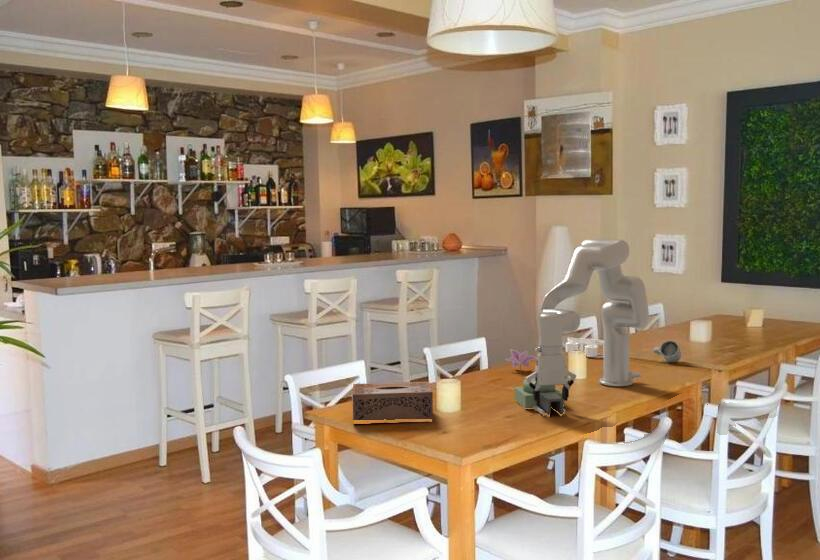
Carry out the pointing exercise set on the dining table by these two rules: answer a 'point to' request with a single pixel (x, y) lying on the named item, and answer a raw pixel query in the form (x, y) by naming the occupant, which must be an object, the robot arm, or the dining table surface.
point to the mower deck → (526, 395)
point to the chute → (551, 402)
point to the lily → (520, 358)
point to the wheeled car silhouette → (589, 349)
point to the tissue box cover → (392, 401)
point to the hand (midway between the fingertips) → (551, 400)
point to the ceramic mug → (669, 351)
